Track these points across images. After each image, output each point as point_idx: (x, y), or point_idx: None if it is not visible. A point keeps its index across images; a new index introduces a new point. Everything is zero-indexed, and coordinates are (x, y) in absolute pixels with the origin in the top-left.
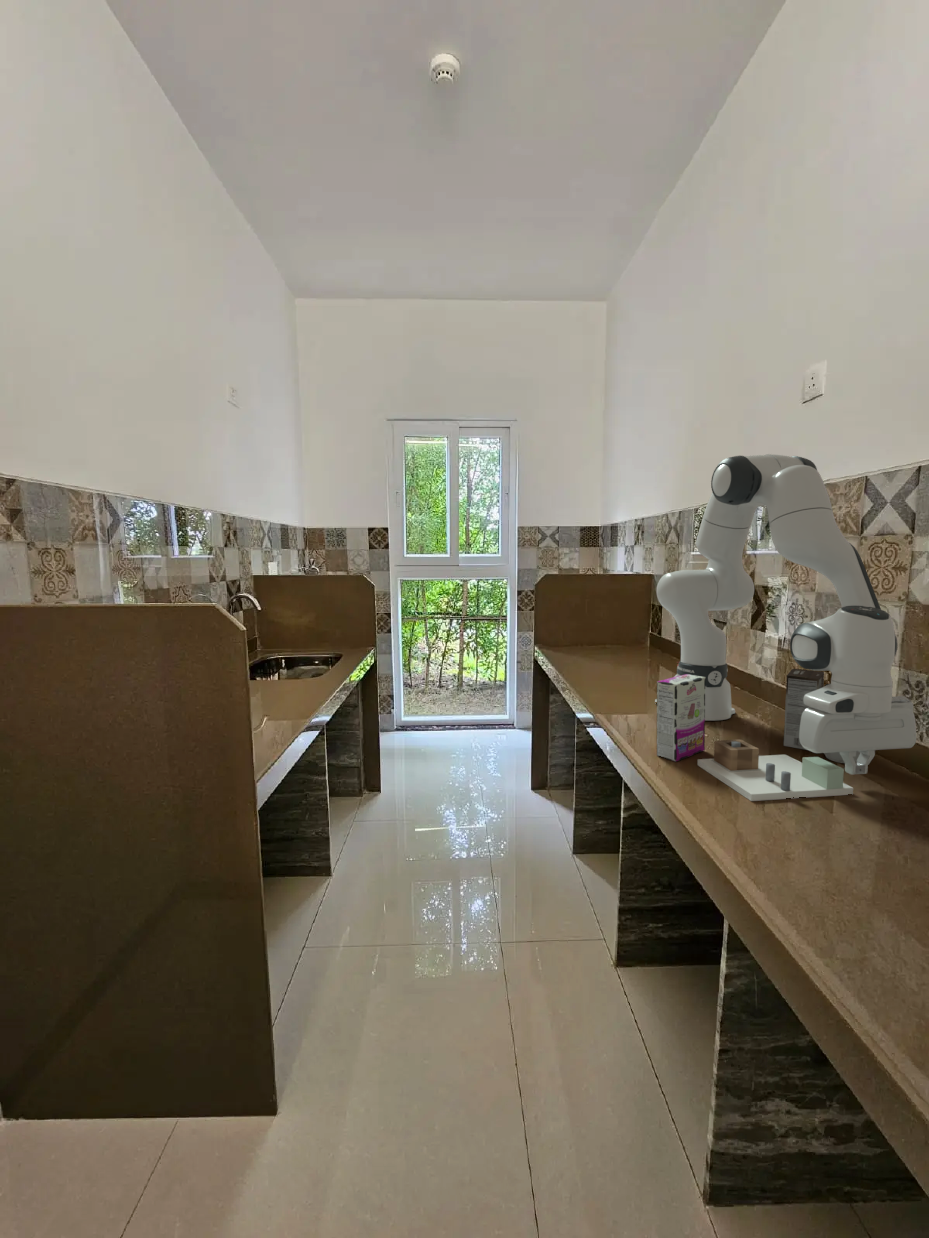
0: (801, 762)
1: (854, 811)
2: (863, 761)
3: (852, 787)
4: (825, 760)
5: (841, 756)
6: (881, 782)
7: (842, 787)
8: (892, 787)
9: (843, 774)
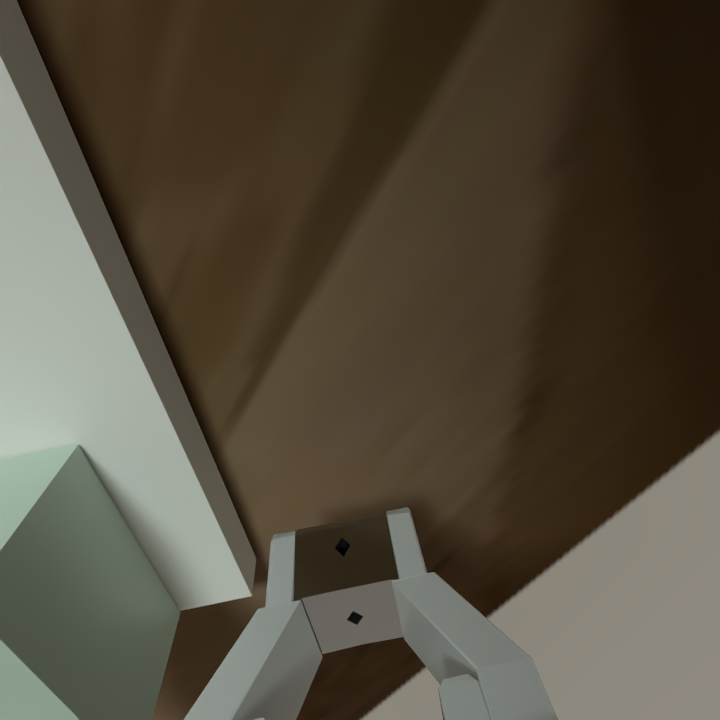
0: (7, 72)
1: (166, 689)
2: (417, 641)
3: (249, 592)
4: (32, 674)
5: (212, 678)
6: (563, 386)
7: (176, 617)
8: (558, 452)
9: (152, 717)
